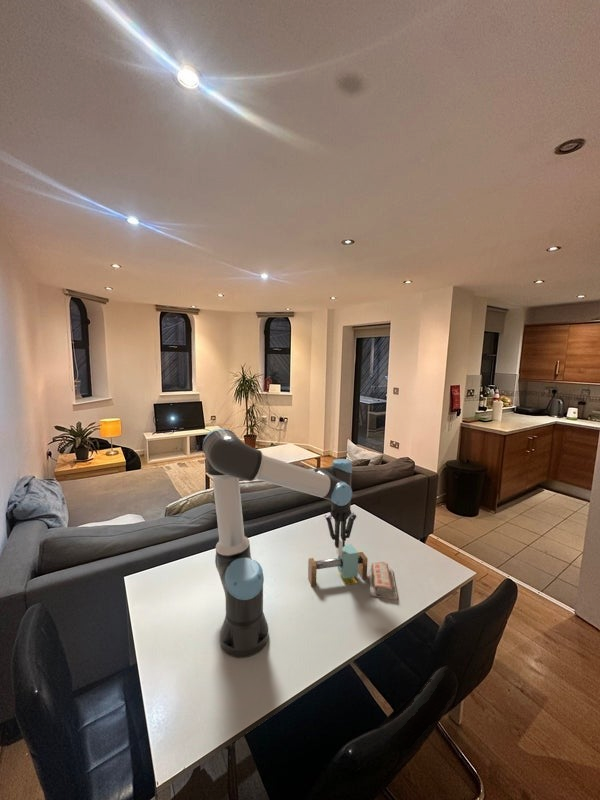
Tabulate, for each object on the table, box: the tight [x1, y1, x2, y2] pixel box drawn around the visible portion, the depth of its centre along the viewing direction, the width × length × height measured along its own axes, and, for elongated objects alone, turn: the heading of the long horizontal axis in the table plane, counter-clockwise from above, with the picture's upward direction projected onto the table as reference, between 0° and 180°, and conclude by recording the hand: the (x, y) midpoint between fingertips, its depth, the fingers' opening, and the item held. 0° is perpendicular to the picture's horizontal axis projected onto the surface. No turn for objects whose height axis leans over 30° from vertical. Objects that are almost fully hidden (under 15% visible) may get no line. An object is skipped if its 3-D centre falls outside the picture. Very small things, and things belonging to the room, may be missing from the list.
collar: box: [337, 544, 359, 578], centre depth 134 cm, size 6×7×10 cm
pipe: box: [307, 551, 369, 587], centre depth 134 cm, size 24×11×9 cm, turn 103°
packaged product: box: [367, 561, 398, 600], centre depth 132 cm, size 18×5×10 cm
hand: (339, 554), depth 133 cm, fingers closed
